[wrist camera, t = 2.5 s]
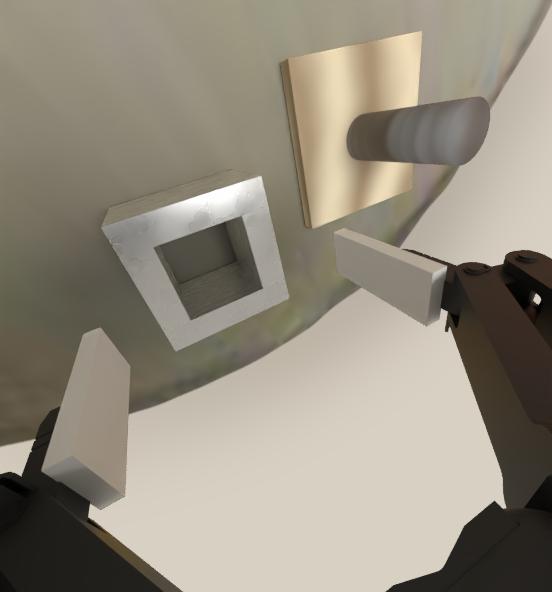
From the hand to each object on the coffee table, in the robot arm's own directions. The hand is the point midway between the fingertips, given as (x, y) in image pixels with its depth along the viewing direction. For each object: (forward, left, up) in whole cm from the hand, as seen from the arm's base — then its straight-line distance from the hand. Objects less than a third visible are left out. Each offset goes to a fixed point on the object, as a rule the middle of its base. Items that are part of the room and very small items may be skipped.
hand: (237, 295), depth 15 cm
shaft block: (+16, +4, -9) cm, 19 cm away
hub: (0, 0, -9) cm, 9 cm away
